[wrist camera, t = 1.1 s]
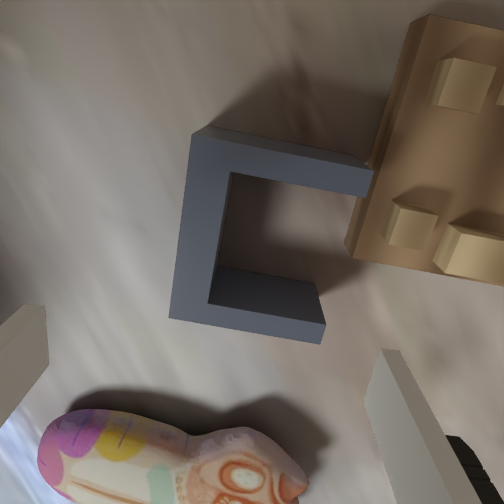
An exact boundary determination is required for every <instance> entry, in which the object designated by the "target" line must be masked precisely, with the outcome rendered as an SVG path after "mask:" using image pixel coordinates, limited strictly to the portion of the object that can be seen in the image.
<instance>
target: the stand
mask: <svg viewBox="0 0 504 504" xmlns="http://www.w3.org/2000/svg"><path fill="white" fill-rule="evenodd" d="M367 166H368V167H369V168H371V169H372V170H374V173H373V176H372V180H371V183H370V186H369V189H368V193H367V196H366V198H363V197H358V198H357V201H356V205H355V208H354V211H353V215H352V218H351V221H350V224H349V228H348V231H347V234H346V238H345V241H344V244H345V245H346V247H347V249H348V251H349V253H350V255H351V256H352V258H355V259H360V260H366V261H371V262H376V263H382V264H387V265H392V266H398V267H403V268H408V269H414V270H419V271H424V272H430V273H435V274H440V275H446V276H451V277H456V278H462V279H467V280H472V281H478V282H483V283H488V284H493V285H499V286H504V31H503V30H498V29H494V28H489V27H485V26H480V25H476V24H471V23H467V22H462V21H458V20H453V19H449V18H444V17H440V16H435V15H431V14H429V15H427V16H425V17H423V18H420V19H418V20H416V21H414V22H412V23H410V26H409V30H408V33H407V36H406V40H405V43H404V46H403V50H402V53H401V56H400V59H399V63H398V66H397V69H396V73H395V76H394V79H393V83H392V86H391V89H390V92H389V96H388V99H387V102H386V106H385V109H384V112H383V116H382V119H381V122H380V125H379V129H378V132H377V135H376V139H375V142H374V145H373V149H372V152H371V155H370V158H369V162H368V165H367Z"/></svg>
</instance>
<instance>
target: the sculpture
mask: <svg viewBox="0 0 504 504" xmlns="http://www.w3.org/2000/svg"><path fill="white" fill-rule="evenodd" d="M37 463H38V468H39V471H40V473H41V475H42V477H43V478H44V479H45V481H46V482H47V483H48V484H49V485H50V486H51V487H52V488H53V489H54V490H55V491H56V492H58V493H59V494H60V495H62V496H64V497H65V498H67V499H69V500H71V501H73V502H76V503H78V504H299V501H298V498H297V495H299V494H301V493H302V492H303V491H304V490H306V488H307V486H308V484H309V481H308V478H307V476H306V474H305V473H304V471H303V470H302V469H301V467H300V466H299V465H298V464H297V463H296V462H295V461H294V460H293V459H292V458H291V457H290V456H289V455H288V454H287V453H286V452H285V451H284V450H283V449H282V448H281V447H280V446H279V445H278V444H277V443H276V442H274V441H273V440H272V439H271V438H269V437H268V436H266V435H265V434H263V433H261V432H259V431H256V430H254V429H252V428H248V427H236V428H229V429H221V430H217V431H214V432H211V433H208V434H205V435H199V436H192V435H189V434H187V433H185V432H184V431H182V430H180V429H178V428H176V427H173V426H171V425H168V424H165V423H162V422H158V421H155V420H152V419H149V418H146V417H143V416H139V415H136V414H132V413H128V412H122V411H113V410H102V409H82V410H76V411H73V412H70V413H67V414H65V415H63V416H61V417H59V418H57V419H56V420H54V421H53V422H52V423H51V424H50V425H49V426H48V427H47V429H46V431H45V432H44V434H43V436H42V438H41V440H40V444H39V448H38V458H37Z"/></svg>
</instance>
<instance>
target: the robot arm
mask: <svg viewBox="0 0 504 504" xmlns="http://www.w3.org/2000/svg"><path fill="white" fill-rule="evenodd" d="M48 365H49V353H48V340H47V327H46V314H45V306H39V305H31V304H24V305H23V306H22V307H21V308H19V309H18V310H17V311H16V312H15V313H14V314H13V315H12V316H11V317H9V318H8V319H7V320H6V321H5V322H4V323H3V324H2V325H1V326H0V428H1V426H2V425H3V424H4V423H5V421H6V420H7V419H8V417H9V416H10V415H11V413H12V412H13V411H14V410H15V408H16V407H17V406H18V404H19V403H20V402H21V401H22V399H23V398H24V397H25V395H26V394H27V393H28V391H29V390H30V389H31V388H32V386H33V385H34V384H35V382H36V381H37V380H38V378H39V377H40V376H41V375H42V373H43V372H44V371H45V369H46V368H47V367H48ZM364 405H365V408H366V411H367V414H368V417H369V420H370V423H371V426H372V429H373V432H374V435H375V438H376V441H377V444H378V447H379V450H380V453H381V456H382V459H383V462H384V465H385V468H386V471H387V474H388V477H389V480H390V483H391V486H392V489H393V492H394V495H395V498H396V501H397V504H504V502H503V500H502V498H501V497H500V495H499V493H498V491H497V490H496V488H495V486H494V485H493V483H491V482H490V478H489V476H488V475H487V473H486V471H485V470H483V466H482V465H481V463H480V461H479V460H478V458H477V456H476V455H475V453H474V451H473V450H472V449H471V448H470V447H469V446H468V445H467V444H466V443H465V442H464V441H463V440H462V439H461V438H460V437H457V436H449V435H445V434H444V432H443V431H442V429H441V427H440V425H439V423H438V421H437V419H436V418H435V416H434V414H433V412H432V410H431V408H430V407H429V405H428V403H427V401H426V399H425V397H424V395H423V394H422V392H421V390H420V388H419V386H418V384H417V382H416V381H415V379H414V377H413V375H412V373H411V371H410V370H409V368H408V366H407V364H406V362H405V360H404V358H403V357H402V355H401V353H400V351H398V350H390V349H382V348H380V351H379V354H378V357H377V360H376V364H375V367H374V370H373V373H372V376H371V379H370V383H369V386H368V389H367V392H366V395H365V398H364Z"/></svg>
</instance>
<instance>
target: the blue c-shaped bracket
mask: <svg viewBox="0 0 504 504" xmlns="http://www.w3.org/2000/svg"><path fill="white" fill-rule="evenodd" d="M233 172H235V173H241V174H246V175H251V176H256V177H261V178H266V179H271V180H276V181H281V182H286V183H291V184H297V185H302V186H307V187H312V188H317V189H322V190H327V191H332V192H337V193H342V194H348V195H353V196H358V197H363V198H366V196H367V193H368V189H369V186H370V183H371V180H372V176H373V173H374V170H372V169H371V168H369V167H368V166H367V165H365V164H364V163H362V162H361V161H359V160H358V159H357V158H355V157H354V156H352V155H349V154H345V153H340V152H335V151H330V150H325V149H320V148H315V147H310V146H305V145H300V144H295V143H290V142H285V141H280V140H275V139H270V138H265V137H260V136H255V135H250V134H245V133H240V132H235V131H230V130H226V129H221V128H216V127H211V126H205V127H203V128H202V129H200V130H198V131H197V132H195V133H193V134H192V137H191V145H190V153H189V161H188V169H187V177H186V185H185V192H184V200H183V208H182V216H181V224H180V232H179V240H178V247H177V255H176V263H175V271H174V279H173V287H172V295H171V302H170V310H169V318H172V319H178V320H183V321H189V322H195V323H200V324H206V325H212V326H218V327H223V328H229V329H235V330H240V331H246V332H252V333H257V334H263V335H269V336H274V337H280V338H286V339H292V340H297V341H303V342H309V343H314V344H320V343H321V340H322V337H323V334H324V331H325V327H326V322H325V318H324V315H323V311H322V308H321V304H320V300H319V297H318V293H317V289H316V286H315V284H314V283H308V282H303V281H297V280H292V279H286V278H281V277H275V276H270V275H264V274H259V273H254V272H248V271H243V270H237V269H232V268H226V267H221V266H217V264H218V259H219V253H220V247H221V241H222V235H223V230H224V224H225V218H226V212H227V207H228V201H229V195H230V189H231V183H232V178H233Z"/></svg>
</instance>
